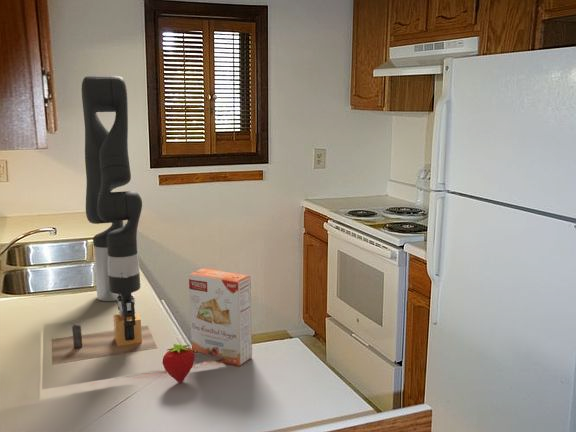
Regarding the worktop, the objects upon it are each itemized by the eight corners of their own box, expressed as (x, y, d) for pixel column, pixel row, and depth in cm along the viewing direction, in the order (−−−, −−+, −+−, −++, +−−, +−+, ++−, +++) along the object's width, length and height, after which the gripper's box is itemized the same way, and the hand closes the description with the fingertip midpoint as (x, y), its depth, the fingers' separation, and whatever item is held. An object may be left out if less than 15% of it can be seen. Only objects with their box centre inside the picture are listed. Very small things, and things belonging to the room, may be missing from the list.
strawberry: (157, 383, 130) (155, 340, 128) (185, 372, 135) (183, 330, 134) (173, 392, 126) (171, 348, 124) (201, 380, 131) (200, 337, 130)
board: (52, 344, 152) (49, 316, 150) (147, 330, 160) (146, 304, 159) (52, 370, 137) (50, 339, 135) (157, 353, 146) (156, 324, 144)
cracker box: (190, 356, 144) (187, 273, 140) (205, 347, 149) (202, 267, 145) (239, 367, 137) (237, 281, 134) (253, 358, 143) (251, 274, 139)
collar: (114, 337, 152) (113, 315, 151) (138, 333, 154) (137, 311, 153) (117, 346, 147) (115, 323, 145) (141, 342, 149) (140, 319, 148)
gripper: (105, 266, 152) (109, 326, 155) (110, 281, 139) (115, 347, 142) (135, 262, 155) (139, 322, 158) (143, 277, 142) (147, 342, 145)
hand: (127, 334), depth 150 cm, fingers open, 7 cm apart
